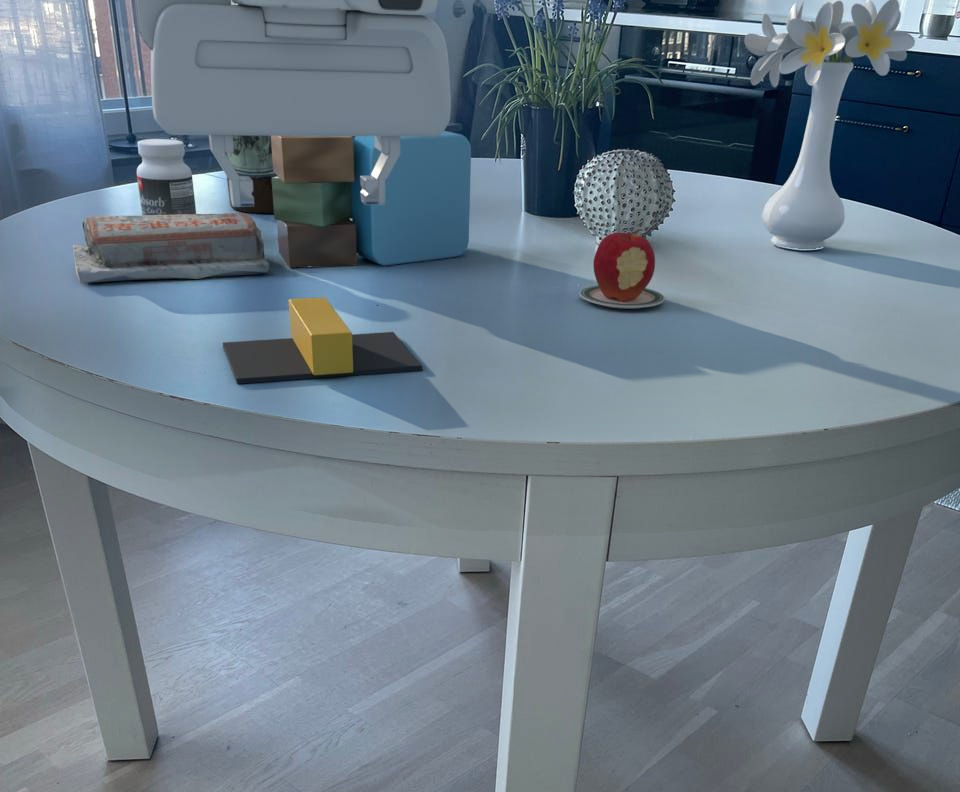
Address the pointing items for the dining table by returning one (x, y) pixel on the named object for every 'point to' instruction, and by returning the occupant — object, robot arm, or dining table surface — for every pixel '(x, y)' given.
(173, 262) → the packaged product
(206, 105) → the robot arm
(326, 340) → the bar
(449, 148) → the data package
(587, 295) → the apple
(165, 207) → the pill bottle
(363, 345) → the mat
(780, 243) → the flower vase
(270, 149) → the olive oil
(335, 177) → the tower
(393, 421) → the dining table surface
